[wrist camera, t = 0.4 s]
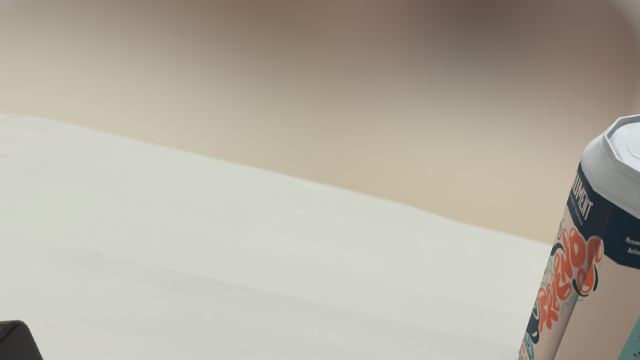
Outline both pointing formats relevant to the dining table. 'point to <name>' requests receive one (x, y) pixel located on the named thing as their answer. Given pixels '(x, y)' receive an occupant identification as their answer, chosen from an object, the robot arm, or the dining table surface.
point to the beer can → (594, 259)
